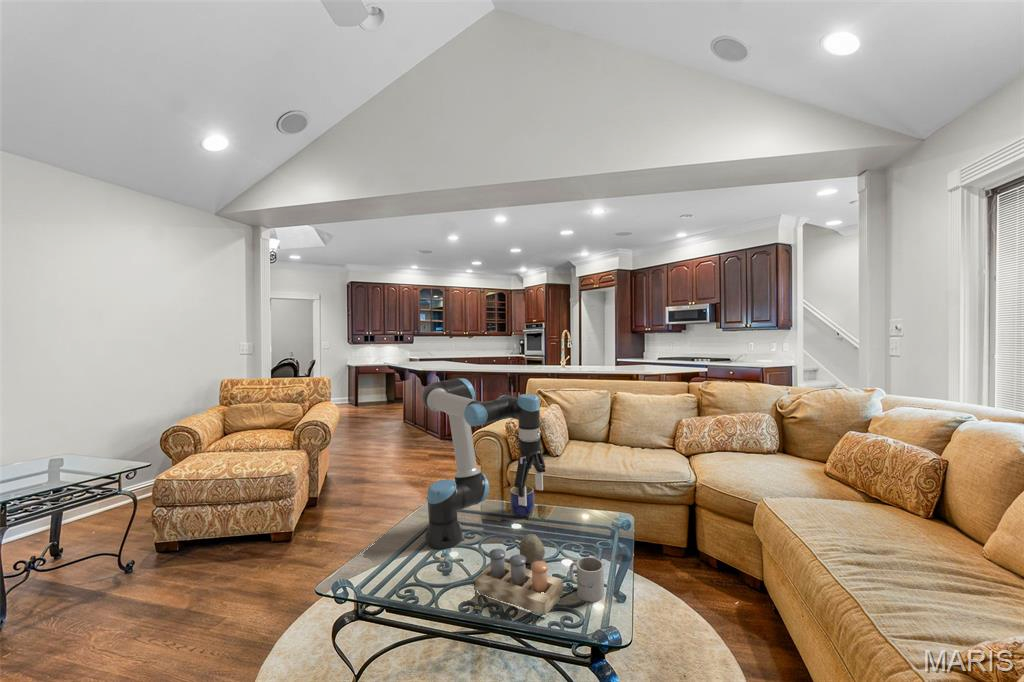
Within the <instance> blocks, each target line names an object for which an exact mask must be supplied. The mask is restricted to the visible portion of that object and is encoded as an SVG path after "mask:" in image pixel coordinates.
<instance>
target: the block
mask: <svg viewBox="0 0 1024 682" xmlns="http://www.w3.org/2000/svg"><path fill="white" fill-rule="evenodd" d="M525 572H526V581H525V582H524V583H525V584H524V583H522V584H515V583H513V582H512V581H511V564H510V562H506V561H505V574H504V575H503V576H501V577H494V576H492V575H491V564H490V565H488V566H487V567H486V568H485V569H484V570H483V571H482V572H481V573H479V575H477V576H476V577H475V578H474V586H475V587H474V588H475V594H476V595H478V594H477V590H480V591H481V593H483V594H484V595H486V596H488V597H491V598H494V599H497V600H499V601H503V602H506V603H510V604H513V605H516V606H519V607H522V608H524V609H527V610H530V611H535V612H539V613H542V614H544V615H546V614H547V613H548V612H549V611H550V610H551V608H552V607H553V606H554V605H555V604H556V603H557V604H558V603H559V601H560V600H561V598H562V597H563V596H562V595H564V580H563V579H561V578H558V577H554V576H551V575H549V574H547V585H548V587H547V589H546V590H544V591H536V590H534V589H533V585H532V570H531V569H529V568H526V567H525ZM541 592H544V593H545V594H544V595H543V594H541ZM561 596H562V597H561ZM560 597H561V598H560ZM557 604H556V605H557ZM556 605H555V606H556ZM555 606H554V607H555Z"/></svg>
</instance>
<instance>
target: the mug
mask: <svg viewBox="0 0 1024 682" xmlns="http://www.w3.org/2000/svg"><path fill="white" fill-rule="evenodd" d="M574 566H576V577H575V575H574ZM604 569H605V568H604V563H603V561H602V560H600V559H599V558H597V557H593V556H584V557H581V558H579V559H578V560H577V561H573V562H571V563H570V566H569V577H570V578H571V581H572V582H573V583H574V584H576V587H577V596H578V598H580V599H581V600H583V601H584V602H587V601H590V603H597V602H600V601H601V600H603V599H604V597H605V580H604V579H605V574H604V573H605V572H604Z"/></svg>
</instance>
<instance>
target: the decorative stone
mask: <svg viewBox="0 0 1024 682" xmlns="http://www.w3.org/2000/svg"><path fill="white" fill-rule="evenodd" d="M545 554H546V551H545V545H544V543H543V542H542V541H541V539H540V538H539V536H537V535H536V534H535V533H533V534H532V533H529V534H526V535H525V536H524V537H522V538H521V541H520V543H519V555H523V556H525V558H526V563H525V564H530V565H531V564H532V563H533V562H535V561H543V559H544V557H545Z"/></svg>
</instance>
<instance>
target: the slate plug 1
mask: <svg viewBox="0 0 1024 682" xmlns="http://www.w3.org/2000/svg"><path fill="white" fill-rule="evenodd" d="M488 553H489V555H488V557H489V558H490V565H491V575H492V576H494V577H501V576H503V575H504V574H505V562H506V561H505V557H506V551H505V550H503V548H495V549H492V550H490V551H489V552H488Z"/></svg>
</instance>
